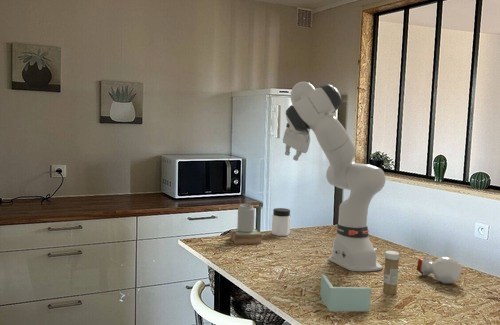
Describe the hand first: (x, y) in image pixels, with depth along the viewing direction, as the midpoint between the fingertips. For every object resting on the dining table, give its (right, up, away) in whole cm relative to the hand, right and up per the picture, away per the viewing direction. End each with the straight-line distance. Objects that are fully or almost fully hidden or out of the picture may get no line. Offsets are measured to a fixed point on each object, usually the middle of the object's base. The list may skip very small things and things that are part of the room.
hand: (290, 157), depth 211 cm
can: (-21, -34, +1) cm, 39 cm away
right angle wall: (+10, -46, -69) cm, 83 cm away
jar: (-4, -37, +16) cm, 41 cm away
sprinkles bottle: (+27, -45, -58) cm, 79 cm away
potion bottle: (+48, -44, -45) cm, 80 cm away
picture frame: (-20, -38, +1) cm, 43 cm away
